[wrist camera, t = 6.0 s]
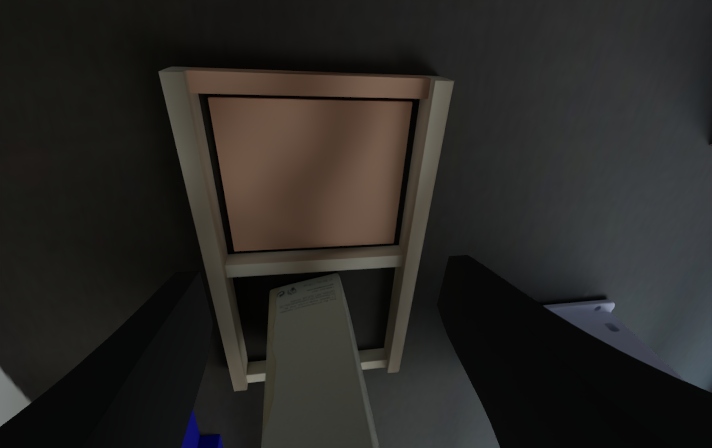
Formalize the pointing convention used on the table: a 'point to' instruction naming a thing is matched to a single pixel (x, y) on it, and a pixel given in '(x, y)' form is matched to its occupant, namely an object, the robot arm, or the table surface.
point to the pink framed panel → (307, 182)
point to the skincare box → (314, 371)
